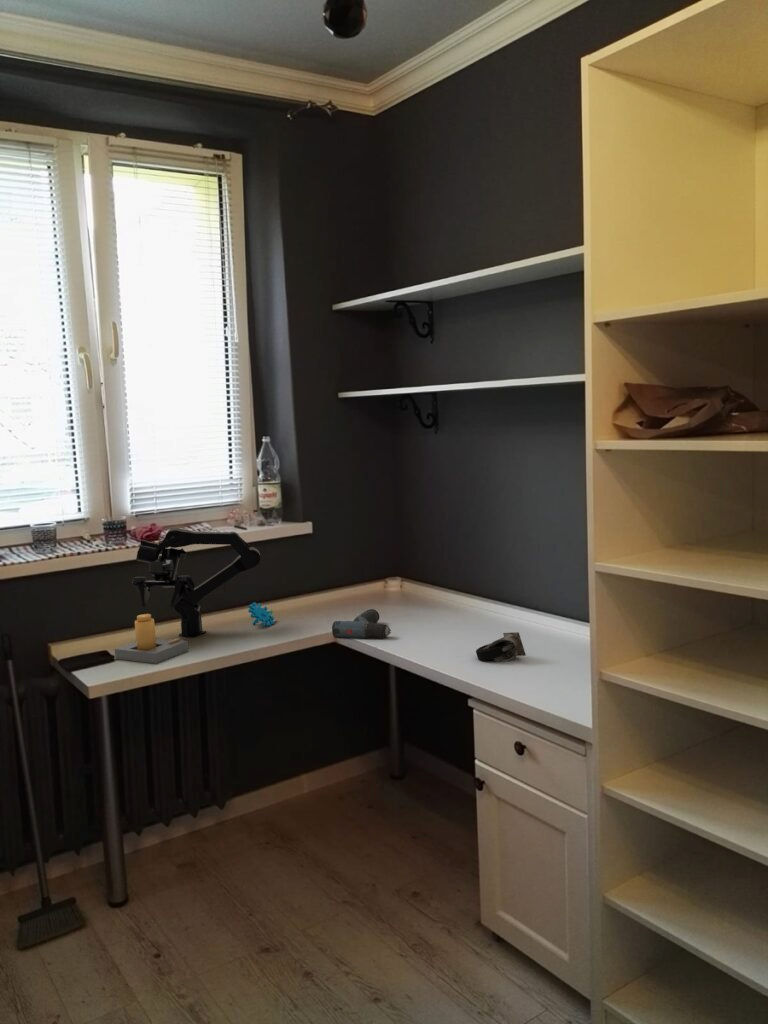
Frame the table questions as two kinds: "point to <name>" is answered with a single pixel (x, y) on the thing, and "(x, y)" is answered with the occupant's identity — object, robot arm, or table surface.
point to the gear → (261, 614)
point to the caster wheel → (502, 648)
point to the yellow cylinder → (145, 632)
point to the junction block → (152, 651)
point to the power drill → (361, 627)
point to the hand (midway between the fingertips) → (157, 607)
